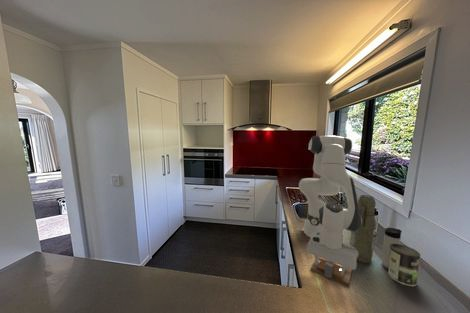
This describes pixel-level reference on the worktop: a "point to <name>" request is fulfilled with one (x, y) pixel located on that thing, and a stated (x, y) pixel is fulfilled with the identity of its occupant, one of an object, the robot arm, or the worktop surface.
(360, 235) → the thermos
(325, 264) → the collar
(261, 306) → the worktop surface
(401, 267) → the coffee can
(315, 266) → the post base
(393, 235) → the travel mug
